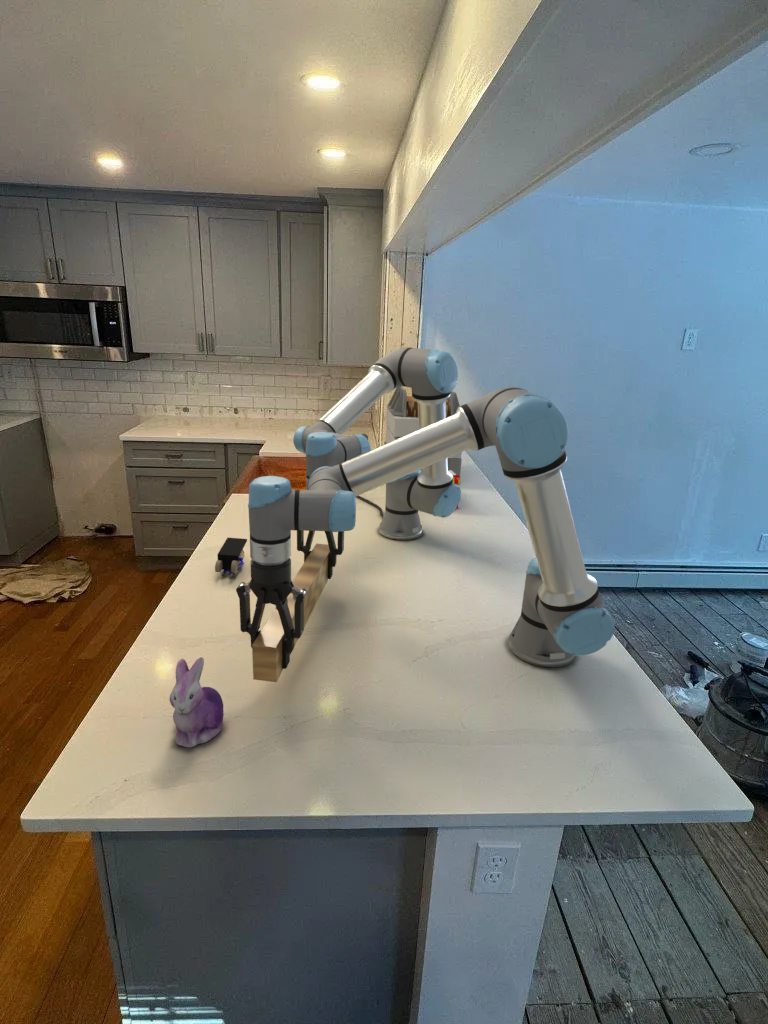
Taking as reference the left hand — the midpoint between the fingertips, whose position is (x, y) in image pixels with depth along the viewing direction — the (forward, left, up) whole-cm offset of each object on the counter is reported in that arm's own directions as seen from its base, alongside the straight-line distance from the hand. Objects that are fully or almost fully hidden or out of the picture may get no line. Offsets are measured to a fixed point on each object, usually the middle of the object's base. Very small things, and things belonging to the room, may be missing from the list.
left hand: (320, 575), depth 153 cm
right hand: (+27, -30, 0) cm, 41 cm away
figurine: (+30, -47, -6) cm, 56 cm away
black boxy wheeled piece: (-28, -12, -6) cm, 31 cm away
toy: (-41, +91, -6) cm, 100 cm away
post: (+14, -15, -1) cm, 20 cm away
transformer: (-74, +109, -6) cm, 132 cm away
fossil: (-122, +108, -6) cm, 163 cm away
